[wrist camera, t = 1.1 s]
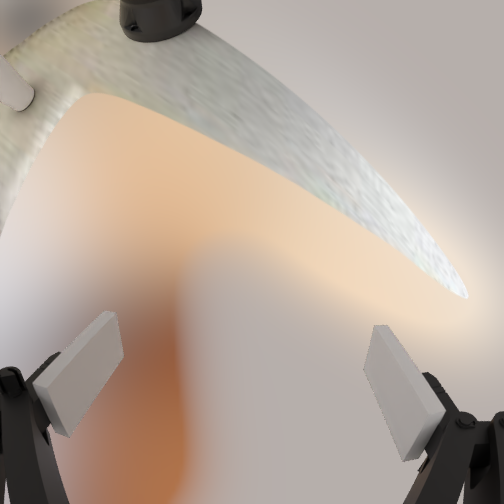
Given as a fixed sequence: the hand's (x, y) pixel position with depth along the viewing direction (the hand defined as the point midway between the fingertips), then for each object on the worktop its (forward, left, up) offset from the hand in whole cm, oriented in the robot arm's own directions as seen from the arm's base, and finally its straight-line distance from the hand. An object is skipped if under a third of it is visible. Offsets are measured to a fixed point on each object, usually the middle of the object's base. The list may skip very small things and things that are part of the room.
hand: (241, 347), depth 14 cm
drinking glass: (-42, -32, -26) cm, 59 cm away
